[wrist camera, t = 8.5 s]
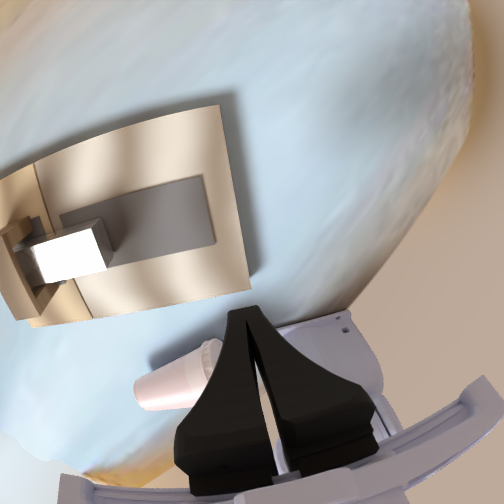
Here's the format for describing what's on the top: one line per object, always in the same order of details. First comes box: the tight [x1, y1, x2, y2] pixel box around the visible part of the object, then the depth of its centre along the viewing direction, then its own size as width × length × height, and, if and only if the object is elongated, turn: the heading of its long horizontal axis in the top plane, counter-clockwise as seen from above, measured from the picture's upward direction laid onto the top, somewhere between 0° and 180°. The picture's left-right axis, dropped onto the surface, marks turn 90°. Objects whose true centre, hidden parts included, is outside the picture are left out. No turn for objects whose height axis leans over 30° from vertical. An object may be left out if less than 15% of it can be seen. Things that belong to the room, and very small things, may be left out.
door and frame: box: [0, 104, 252, 328], centre depth 17 cm, size 22×14×6 cm, turn 99°
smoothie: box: [134, 338, 255, 411], centre depth 24 cm, size 6×6×14 cm
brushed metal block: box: [12, 217, 115, 287], centre depth 17 cm, size 9×3×2 cm, turn 99°
